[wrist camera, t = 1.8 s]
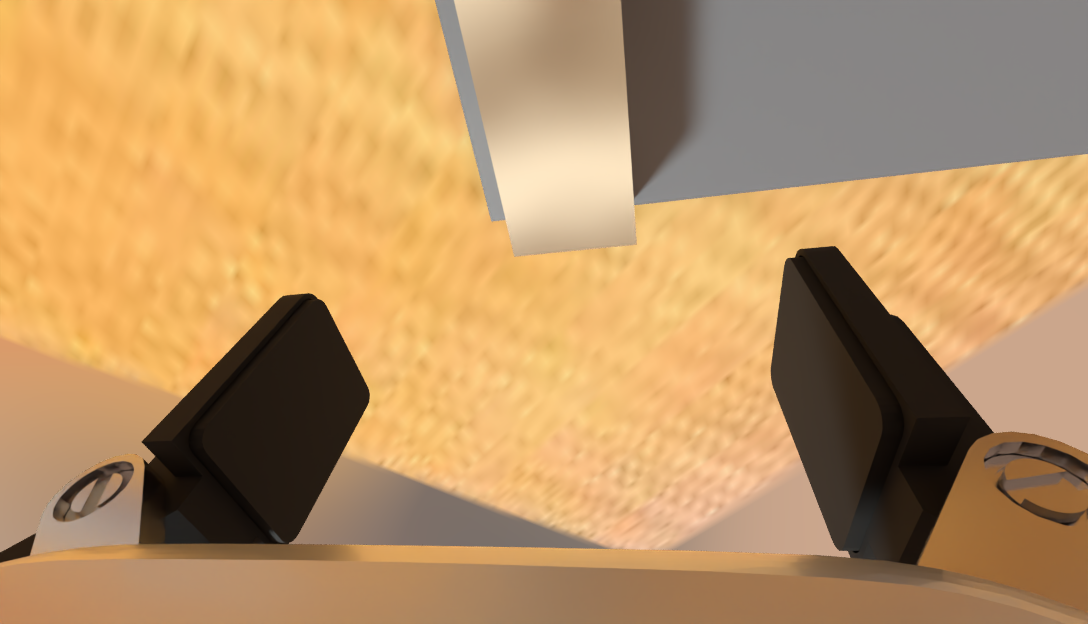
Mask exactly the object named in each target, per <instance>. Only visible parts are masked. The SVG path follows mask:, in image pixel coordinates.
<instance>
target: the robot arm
mask: <svg viewBox="0 0 1088 624" xmlns="http://www.w3.org/2000/svg"><path fill="white" fill-rule="evenodd" d="M771 380H772V385H773V388H774V391H775V393H776V396H777V398H778V401H779V404H780V406H781V409H782V411H783V414H784V416H785V419H786V422H787V424H788V427H789V429H790V432H791V435H792V437H793V440H794V442H795V445H796V448H797V450H798V453H799V455H800V458H801V461H802V463H803V466H804V468H805V471H806V473H807V476H808V478H809V481H810V484H811V486H812V489H813V492H814V494H815V497H816V499H817V502H818V505H819V507H820V510H821V512H822V515H823V518H824V520H825V523H826V525H827V528H828V531H829V533H830V535H831V538H832V540H833V543H834V545H835V546H836V548H837V549H838V550H839V551H848V552H849V555H850V557H851V558H845V557H832V556H820V555H795V554H769V553H766V554H765V553H739V552H712V551H680V550H629V549H579V548H575V549H574V548H527V547H465V546H464V547H462V546H395V545H393V546H392V545H314V544H313V545H312V544H307V545H306V544H289V542H292V541H293V540H294V539H295V538H296V537H297V535H298V534H299V532H300V530H301V528H302V526H303V525H304V523H305V521H306V519H307V517H308V515H309V513H310V512H311V510H312V508H313V506H314V504H315V502H316V500H317V499H318V497H319V495H320V493H321V491H322V489H323V487H324V486H325V484H326V482H327V480H328V478H329V476H330V474H331V472H332V471H333V468H334V467H335V465H336V463H337V461H338V459H339V458H340V456H341V454H342V452H343V450H344V448H345V446H346V445H347V443H348V441H349V439H350V437H351V435H352V433H353V432H354V430H355V428H356V426H357V424H358V422H359V420H360V419H361V417H362V415H363V413H364V411H365V409H366V407H367V405H368V403H369V399H370V394H369V389H368V387H367V385H366V383H365V381H364V379H363V377H362V375H361V373H360V371H359V369H358V367H357V365H356V363H355V361H354V359H353V357H352V355H351V353H350V351H349V349H348V347H347V345H346V344H345V342H344V340H343V338H342V336H341V334H340V332H339V330H338V328H337V326H336V324H335V322H334V320H333V318H332V316H331V314H330V312H329V310H328V308H327V306H326V305H325V303H324V302H323V301H322V300H319V299H317V297H316V296H314V295H313V294H310V293H308V294H297V295H287V296H283V297H281V298H280V299H279V300H278V301H277V302H276V303H275V304H274V305H273V306H272V307H271V308H270V309H269V310H268V311H267V312H266V313H265V314H264V315H263V316H262V317H261V318H260V319H259V320H258V322H257V323H256V324H255V325H254V326H253V327H252V328H251V329H250V330H249V331H248V332H247V333H246V334H245V335H244V336H243V337H242V338H241V339H240V340H239V341H238V342H237V343H236V344H235V345H234V346H233V347H232V348H231V350H230V351H229V352H228V353H227V354H226V355H225V356H224V357H223V358H222V359H221V360H220V361H219V362H218V363H217V364H216V365H215V366H214V367H213V368H212V369H211V370H210V371H209V372H208V373H207V374H206V375H205V377H204V378H203V379H202V380H201V381H200V382H199V383H198V384H197V385H196V386H195V387H194V388H193V389H192V390H191V391H190V392H189V393H188V394H187V395H186V396H185V397H184V398H183V399H182V400H181V401H180V402H179V404H178V405H177V406H176V407H175V408H174V409H173V410H172V411H171V412H170V413H169V414H168V415H167V416H166V417H165V418H164V419H163V420H162V421H161V422H160V423H159V424H158V425H157V426H156V427H155V428H154V429H153V430H152V431H151V433H150V434H149V435H148V436H147V437H146V438H145V439H144V440H143V441H142V443H143V444H144V445H145V446H146V447H147V448H148V449H149V450H150V451H151V452H152V453H153V454H154V455H155V458H154V459H153V460H152V461H151V462H150V463H149V464H148V463H147V462H146V461H145V460H144V459H143V458H141V457H140V456H138V455H136V454H125V455H119V456H115V457H112V458H109V459H107V460H105V461H102V462H99V463H98V464H96V465H94V466H92V467H90V468H89V469H87V470H85V471H84V472H82V473H81V474H79V475H78V476H76V477H75V478H74V479H72V480H71V481H69V482H68V483H67V484H66V485H65V486H64V487H63V488H62V489H60V490H59V491H58V492H57V493H56V494H55V496H54V497H53V498H52V499H51V500H50V502H49V503H48V504H47V506H46V508H45V510H44V512H43V514H42V516H41V519H40V523H39V526H38V529H37V533H36V534H34V535H32V536H30V537H28V538H26V539H24V540H23V541H21V542H19V543H17V544H15V545H13V546H12V547H10V548H8V549H6V550H4V551H2V552H0V624H1088V454H1087V453H1085V452H1083V451H1080V450H1078V449H1076V448H1073V447H1072V446H1069V445H1067V444H1065V443H1062V442H1060V441H1057V440H1053V439H1049V438H1046V437H1042V436H1038V435H1035V434H1027V433H1019V432H1002V433H994V432H993V431H992V430H991V429H990V428H989V426H988V425H987V424H986V423H985V421H984V420H983V419H982V418H981V417H980V415H979V414H978V413H977V411H976V410H975V409H974V408H973V407H972V405H971V404H970V403H969V402H968V400H967V399H966V398H965V397H964V395H963V394H962V393H961V392H960V391H959V389H958V388H957V387H956V386H955V384H954V383H953V382H952V381H951V380H950V378H949V377H948V376H947V375H946V373H945V372H944V371H943V370H942V368H941V367H940V366H939V365H938V364H937V362H936V361H935V360H934V359H933V357H932V356H931V355H930V354H929V352H928V351H927V350H926V349H925V348H924V346H923V345H922V344H921V343H920V341H919V340H918V339H917V338H916V336H915V335H914V334H913V333H912V332H911V330H910V329H909V328H908V327H907V325H906V324H905V323H904V322H903V321H902V320H901V319H900V318H899V317H897V316H894V315H890V314H889V312H888V311H887V310H886V309H885V307H884V306H883V305H882V304H881V302H880V301H879V300H878V299H877V297H876V296H875V295H874V294H873V292H872V291H871V290H870V289H869V287H868V286H867V285H866V283H865V282H864V281H863V280H862V278H861V277H860V276H859V275H858V273H857V272H856V271H855V270H854V268H853V267H852V266H851V265H850V263H849V262H848V261H847V260H846V258H845V257H844V256H843V254H842V253H841V252H840V251H839V249H838V248H836V247H835V246H830V247H819V248H808V249H800V250H798V251H797V254H796V256H795V258H788V259H787V260H786V262H785V265H784V272H783V280H782V288H781V295H780V303H779V310H778V318H777V326H776V333H775V341H774V349H773V356H772V364H771Z"/></svg>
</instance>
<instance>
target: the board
mask: <svg viewBox="0 0 1088 624" xmlns="http://www.w3.org/2000/svg"><path fill="white" fill-rule="evenodd" d="M435 2H436V6H437V10H438V14H439V18H440V22H441V26H442V30H443V33H444V37H445V41H446V45H447V49H448V53H449V57H450V61H451V65H452V69H453V73H454V77H455V80H456V84H457V88H458V92H459V96H460V100H461V104H462V108H463V112H464V116H465V120H466V124H467V127H468V131H469V135H470V139H471V143H472V147H473V151H474V155H475V159H476V163H477V167H478V171H479V174H480V178H481V182H482V186H483V190H484V194H485V198H486V202H487V206H488V210H489V214H490V217H491V221H499V220H506V219H505V215H504V211H503V206H502V202H501V198H500V194H499V189H498V185H497V181H496V177H495V172H494V168H493V164H492V160H491V155H490V151H489V147H488V143H487V139H486V134H485V130H484V126H483V122H482V117H481V113H480V109H479V105H478V100H477V96H476V92H475V88H474V83H473V79H472V75H471V71H470V67H469V62H468V58H467V54H466V50H465V45H464V41H463V37H462V33H461V28H460V24H459V20H458V16H457V11H456V7H455V3H454V0H435ZM621 10H622V25H623V41H624V56H625V72H626V87H627V103H628V118H629V133H630V149H631V164H632V180H633V195H634V205H640V204H649V203H658V202H667V201H676V200H684V199H693V198H702V197H711V196H720V195H729V194H737V193H746V192H755V191H764V190H773V189H781V188H790V187H799V186H808V185H817V184H826V183H834V182H843V181H852V180H861V179H870V178H879V177H887V176H896V175H905V174H914V173H923V172H932V171H940V170H949V169H958V168H967V167H976V166H984V165H993V164H1002V163H1011V162H1020V161H1029V160H1037V159H1046V158H1055V157H1064V156H1073V155H1082V154H1088V0H621Z"/></svg>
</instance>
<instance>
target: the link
mask: <svg viewBox="0 0 1088 624" xmlns="http://www.w3.org/2000/svg"><path fill="white" fill-rule="evenodd" d="M454 3H455V7H456V11H457V16H458V20H459V24H460V28H461V33H462V37H463V41H464V45H465V50H466V54H467V58H468V62H469V67H470V71H471V75H472V79H473V83H474V88H475V92H476V96H477V100H478V105H479V109H480V113H481V117H482V122H483V126H484V130H485V134H486V139H487V143H488V147H489V151H490V155H491V160H492V164H493V168H494V172H495V177H496V181H497V185H498V189H499V194H500V198H501V202H502V206H503V211H504V215H505V219H506V223H507V227H508V232H509V236H510V240H511V244H512V249H513V253H514V257H516V256H526V255H536V254H546V253H556V252H566V251H576V250H586V249H596V248H606V247H617V246H627V245H637V242H636V226H635V211H634V195H633V180H632V164H631V149H630V133H629V118H628V103H627V87H626V72H625V56H624V41H623V25H622V10H621V0H454Z"/></svg>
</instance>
